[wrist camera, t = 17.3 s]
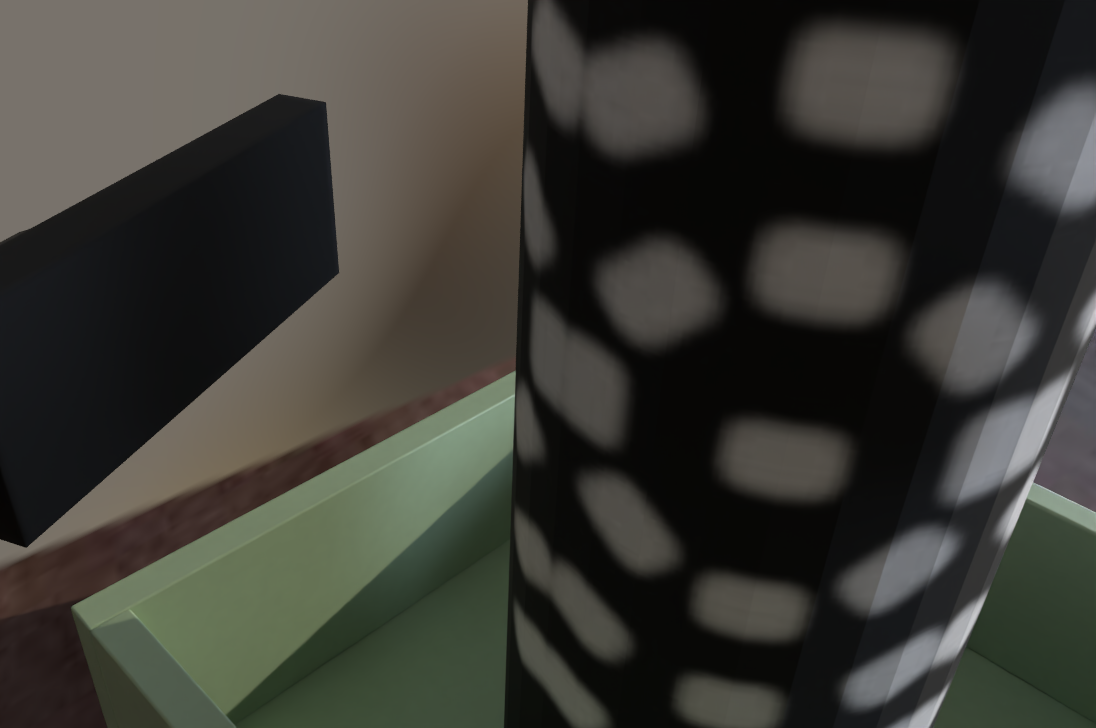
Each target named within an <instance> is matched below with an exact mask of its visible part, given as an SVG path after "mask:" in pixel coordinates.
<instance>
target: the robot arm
mask: <svg viewBox="0 0 1096 728" xmlns="http://www.w3.org/2000/svg"><path fill="white" fill-rule="evenodd" d="M338 273H339V266H338V253H337V241H336V228H335V214H334V203H333V188H332V175H331V163H330V150H329V137H328V123H327V111H326V102H321V101H315V100H310V99H304V98H299V97H293V96H287V95H281V94H278V95H276V96H274V97H273V98H271V99H269V100H267V101H265V102H263V103H261V104H260V105H258V106H256V107H254V108H252V109H251V110H249V111H247V112H245V113H243V114H241V115H239V116H238V117H236V118H234V119H232V120H230V121H228V122H226V123H225V124H223V125H221V126H219V127H217V128H215V129H214V130H212V131H210V132H208V133H206V134H204V135H203V136H201V137H199V138H197V139H195V140H193V141H191V142H190V143H188V144H186V145H184V146H182V147H180V148H179V149H177V150H175V151H173V152H171V153H170V154H167V155H166V156H164V157H162V158H161V159H158V160H156V161H155V162H153V163H151V164H149V165H147V166H145V167H143V168H142V169H140V170H138V171H136V172H134V173H132V174H131V175H129V176H127V177H125V178H123V179H121V180H120V181H118V182H116V183H114V184H112V185H110V186H109V187H107V188H105V189H103V190H101V191H99V192H97V193H96V194H94V195H92V196H90V197H88V198H86V199H85V200H83V201H81V202H79V203H77V204H75V205H73V206H72V207H70V208H68V209H66V210H64V211H62V212H61V213H59V214H57V215H55V216H53V217H51V218H49V219H48V220H46V221H44V222H42V223H40V224H38V225H37V226H35V227H33V228H31V229H28V230H25V231H22V232H19V233H17V234H15V235H13V236H11V237H10V238H8V239H6V240H4V241H2V242H0V539H1V540H4V541H7V542H10V543H14V544H17V545H19V546H23V547H28V546H29V545H30V544H31V543H32V542H33V541H34V540H36V539H37V538H38V537H39V536H40V535H41V534H42V533H44V532H45V531H46V530H47V529H48V528H49V527H50V526H52V525H53V524H54V523H55V522H56V521H57V520H58V519H59V518H61V517H62V516H63V515H64V514H65V513H66V512H67V511H69V510H70V509H71V508H72V507H73V506H74V505H75V504H77V503H78V502H79V501H80V500H81V499H82V498H83V497H85V496H86V495H87V494H88V493H89V492H90V491H91V490H92V489H94V488H95V487H96V486H97V485H98V484H99V483H101V482H102V481H103V480H104V479H105V478H106V477H107V476H108V475H110V474H111V473H112V472H113V471H114V470H115V469H116V468H118V467H119V466H120V465H121V464H122V463H123V462H124V461H126V460H127V458H129V457H130V456H131V455H132V454H133V453H134V452H136V451H137V450H138V449H139V448H140V447H141V446H143V445H144V444H145V443H146V442H147V441H148V440H149V439H151V438H152V437H153V436H154V435H155V434H156V433H157V432H159V431H160V430H161V429H162V428H163V427H164V426H165V425H166V424H168V423H169V422H170V421H171V420H172V419H173V418H174V417H176V416H177V415H178V414H179V413H180V412H181V411H182V410H183V409H185V408H186V407H187V406H188V405H189V404H190V403H191V402H193V401H194V400H195V399H196V398H197V397H198V396H199V395H201V394H202V393H203V392H204V391H205V390H206V389H207V388H208V387H210V386H211V385H212V384H213V383H214V382H215V381H217V380H218V379H219V378H220V377H221V376H222V375H223V374H224V373H226V372H227V371H228V370H229V369H230V368H231V367H232V366H234V365H235V364H236V363H237V362H238V361H239V360H240V359H241V358H243V357H244V356H245V355H246V354H247V353H248V352H250V351H251V350H252V349H253V348H254V347H255V346H256V345H257V344H259V343H260V342H261V341H262V340H263V339H264V338H265V337H266V336H268V335H269V334H270V333H271V332H272V331H273V330H275V329H276V328H277V327H278V326H279V325H280V324H281V323H282V322H284V321H285V320H286V319H287V318H288V317H289V316H290V315H292V313H294V312H295V311H296V310H297V309H298V308H299V307H301V306H302V305H303V304H304V303H305V302H306V301H308V300H309V299H310V298H311V297H312V296H313V295H314V294H315V293H316V292H318V291H319V290H320V289H321V288H322V287H323V286H324V285H326V284H327V283H328V282H329V281H330V280H331V279H332V278H334V277H335V276H336V275H337V274H338Z"/></svg>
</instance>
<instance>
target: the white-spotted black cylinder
mask: <svg viewBox="0 0 1096 728" xmlns="http://www.w3.org/2000/svg"><path fill="white" fill-rule="evenodd" d="M521 199H522V201H521V229H520V260H519V289H518V318H517V348H516V378H515V408H514V438H513V467H512V497H511V527H510V557H509V587H508V617H507V647H506V677H505V707H504V728H933V727H934V724H935V722H936V719H937V717H938V714H939V712H940V709H941V707H942V705H943V702H944V700H945V697H946V695H947V692H948V690H949V687H950V685H951V682H952V680H953V678H954V675H955V673H956V670H957V668H958V665H959V663H960V660H961V658H962V655H963V653H964V650H965V648H966V646H967V643H968V641H969V638H970V636H971V633H972V631H973V628H974V626H975V623H976V621H977V618H978V616H979V614H980V611H981V609H982V606H983V604H984V601H985V599H986V596H987V594H988V591H989V589H990V587H991V584H992V582H993V579H994V577H995V574H996V572H997V569H998V567H999V564H1000V562H1001V559H1002V557H1003V555H1004V552H1005V550H1006V547H1007V545H1008V542H1009V540H1010V537H1011V535H1012V532H1013V530H1014V527H1015V525H1016V523H1017V520H1018V518H1019V515H1020V513H1021V510H1022V508H1023V505H1024V503H1025V500H1026V498H1027V495H1028V493H1029V491H1030V488H1031V486H1032V483H1033V481H1034V478H1035V476H1036V473H1037V471H1038V468H1039V466H1040V464H1041V461H1042V459H1043V456H1044V454H1045V451H1046V449H1047V446H1048V444H1049V441H1050V439H1051V436H1052V434H1053V432H1054V429H1055V427H1056V424H1057V422H1058V419H1059V417H1060V414H1061V412H1062V409H1063V407H1064V404H1065V402H1066V400H1067V397H1068V395H1069V392H1070V390H1071V387H1072V385H1073V382H1074V380H1075V377H1076V375H1077V372H1078V370H1079V368H1080V365H1081V363H1082V360H1083V358H1084V355H1085V353H1086V350H1087V348H1088V345H1089V343H1090V341H1091V338H1092V336H1093V333H1094V331H1095V328H1096V0H528V19H527V49H526V79H525V110H524V139H523V168H522V198H521Z"/></svg>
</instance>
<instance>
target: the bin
mask: <svg viewBox="0 0 1096 728" xmlns="http://www.w3.org/2000/svg"><path fill="white" fill-rule="evenodd" d="M515 378H516V371H514V372H512V373H510V374H508V375H506V376H504V377H503V378H501V379H499V380H497V381H495V382H493V383H491V384H489V385H487V386H486V387H484V388H482V389H480V390H478V391H476V392H474V393H472V394H471V395H469V396H467V397H465V398H463V399H461V400H459V401H457V402H455V403H454V404H452V405H450V406H448V407H446V408H444V409H442V410H440V411H439V412H437V413H435V414H433V415H431V416H429V417H427V418H425V419H423V420H422V421H420V422H418V423H416V424H414V425H412V426H410V427H408V428H406V429H405V430H403V431H401V432H399V433H397V434H395V435H393V436H391V437H390V438H388V439H386V440H384V441H382V442H380V443H378V444H376V445H374V446H373V447H371V448H369V449H367V450H365V451H363V452H361V453H359V454H358V455H356V456H354V457H352V458H350V459H348V460H346V461H344V462H342V463H341V464H339V465H337V466H335V467H333V468H331V469H329V470H327V471H325V472H324V473H322V474H320V475H318V476H316V477H314V478H312V479H310V480H309V481H307V482H305V483H303V484H301V485H299V486H297V487H295V488H293V489H292V490H290V491H288V492H286V493H284V494H282V495H280V496H278V497H277V498H275V499H273V500H271V501H269V502H267V503H265V504H263V505H261V506H260V507H258V508H256V509H254V510H252V511H250V512H248V513H246V514H244V515H243V516H241V517H239V518H237V519H235V520H233V521H231V522H229V523H228V524H226V525H224V526H222V527H220V528H218V529H216V530H214V531H212V532H211V533H209V534H207V535H205V536H203V537H201V538H199V539H197V540H196V541H194V542H192V543H190V544H188V545H186V546H184V547H182V548H180V549H179V550H177V551H175V552H173V553H171V554H169V555H167V556H165V557H163V558H162V559H160V560H158V561H156V562H154V563H152V564H150V565H148V566H147V567H145V568H143V569H141V570H139V571H137V572H135V573H133V574H131V575H130V576H128V577H126V578H124V579H122V580H120V581H118V582H116V583H114V584H113V585H111V586H109V587H107V588H105V589H103V590H101V591H99V592H98V593H96V594H94V595H92V596H90V597H88V598H86V599H84V600H82V601H81V602H79V603H77V604H75V605H73V606H72V607H71V611H72V615H73V618H74V621H75V624H76V628H77V631H78V634H79V637H80V641H81V644H82V647H83V650H84V654H85V657H86V660H87V663H88V667H89V670H90V673H91V676H92V680H93V683H94V686H95V689H96V692H97V696H98V699H99V702H100V705H101V709H102V712H103V715H104V718H105V722H106V725H107V728H504V707H505V677H506V647H507V617H508V587H509V557H510V527H511V497H512V467H513V438H514V408H515ZM933 728H1096V513H1095V512H1093V511H1091V510H1089V509H1087V508H1085V507H1083V506H1081V505H1079V504H1077V503H1075V502H1072V501H1070V500H1068V499H1066V498H1064V497H1062V496H1060V495H1058V494H1056V493H1054V492H1052V491H1050V490H1047V489H1045V488H1043V487H1041V486H1039V485H1037V484H1035V483H1032V486H1031V488H1030V491H1029V493H1028V495H1027V498H1026V500H1025V503H1024V505H1023V508H1022V510H1021V513H1020V515H1019V518H1018V520H1017V523H1016V525H1015V527H1014V530H1013V532H1012V535H1011V537H1010V540H1009V542H1008V545H1007V547H1006V550H1005V552H1004V555H1003V557H1002V559H1001V562H1000V564H999V567H998V569H997V572H996V574H995V577H994V579H993V582H992V584H991V587H990V589H989V591H988V594H987V596H986V599H985V601H984V604H983V606H982V609H981V611H980V614H979V616H978V618H977V621H976V623H975V626H974V628H973V631H972V633H971V636H970V638H969V641H968V643H967V646H966V648H965V650H964V653H963V655H962V658H961V660H960V663H959V665H958V668H957V670H956V673H955V675H954V678H953V680H952V682H951V685H950V687H949V690H948V692H947V695H946V697H945V700H944V702H943V705H942V707H941V709H940V712H939V714H938V717H937V719H936V722H935V724H934V727H933Z"/></svg>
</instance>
